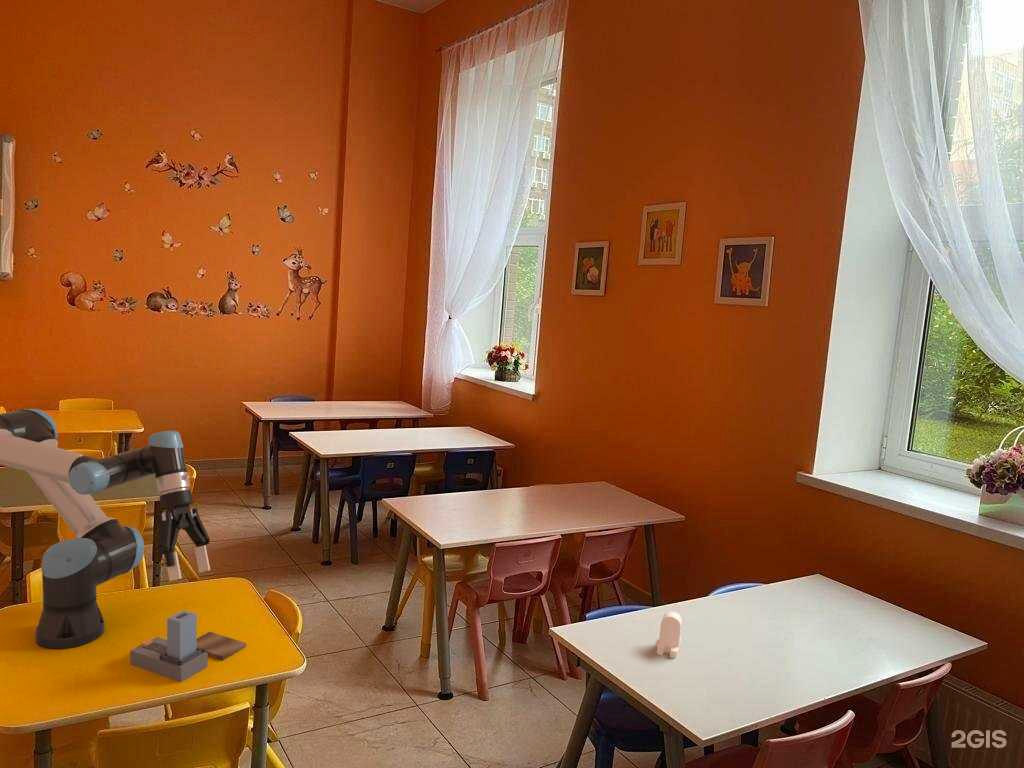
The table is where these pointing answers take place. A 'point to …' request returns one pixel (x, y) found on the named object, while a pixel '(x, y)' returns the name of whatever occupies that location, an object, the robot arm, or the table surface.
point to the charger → (181, 634)
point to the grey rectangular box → (167, 660)
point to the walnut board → (219, 645)
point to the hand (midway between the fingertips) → (190, 575)
